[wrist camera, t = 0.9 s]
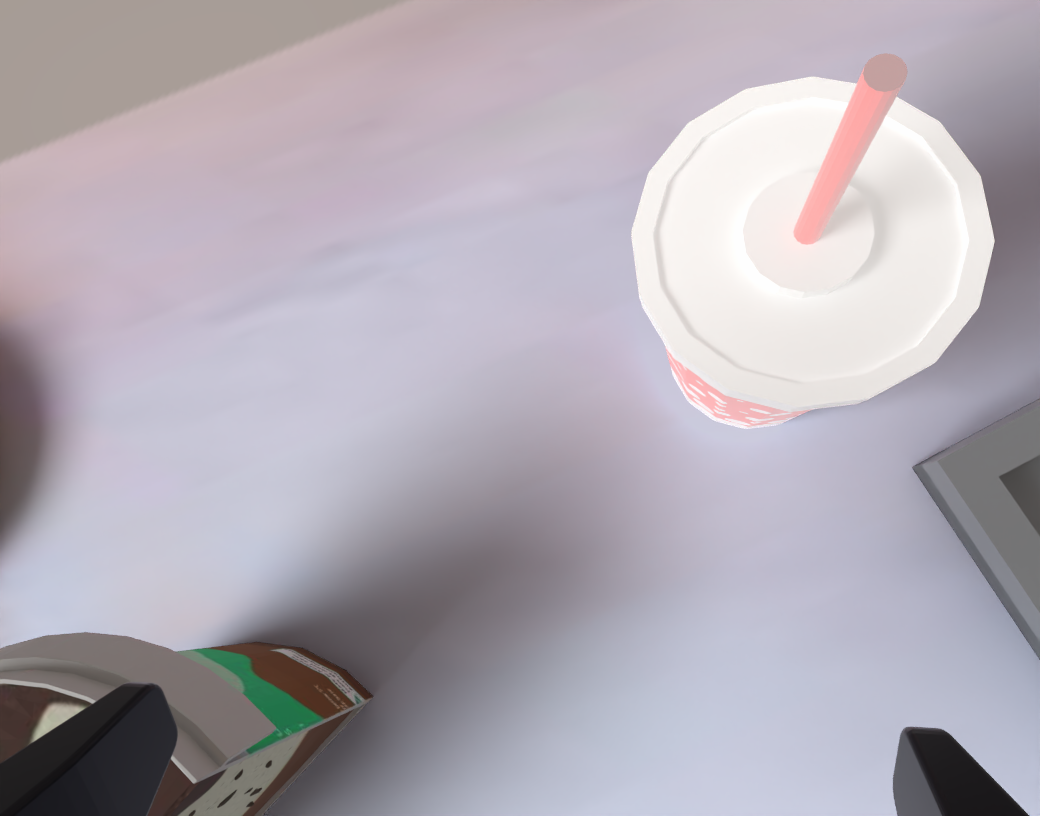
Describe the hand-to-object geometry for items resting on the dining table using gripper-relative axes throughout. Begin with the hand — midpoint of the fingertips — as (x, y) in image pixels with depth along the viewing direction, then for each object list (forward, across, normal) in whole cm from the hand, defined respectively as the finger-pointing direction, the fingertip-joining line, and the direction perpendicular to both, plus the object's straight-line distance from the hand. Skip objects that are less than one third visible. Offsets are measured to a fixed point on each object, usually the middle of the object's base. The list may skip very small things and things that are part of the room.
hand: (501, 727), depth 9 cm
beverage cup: (+15, -4, +2) cm, 16 cm away
